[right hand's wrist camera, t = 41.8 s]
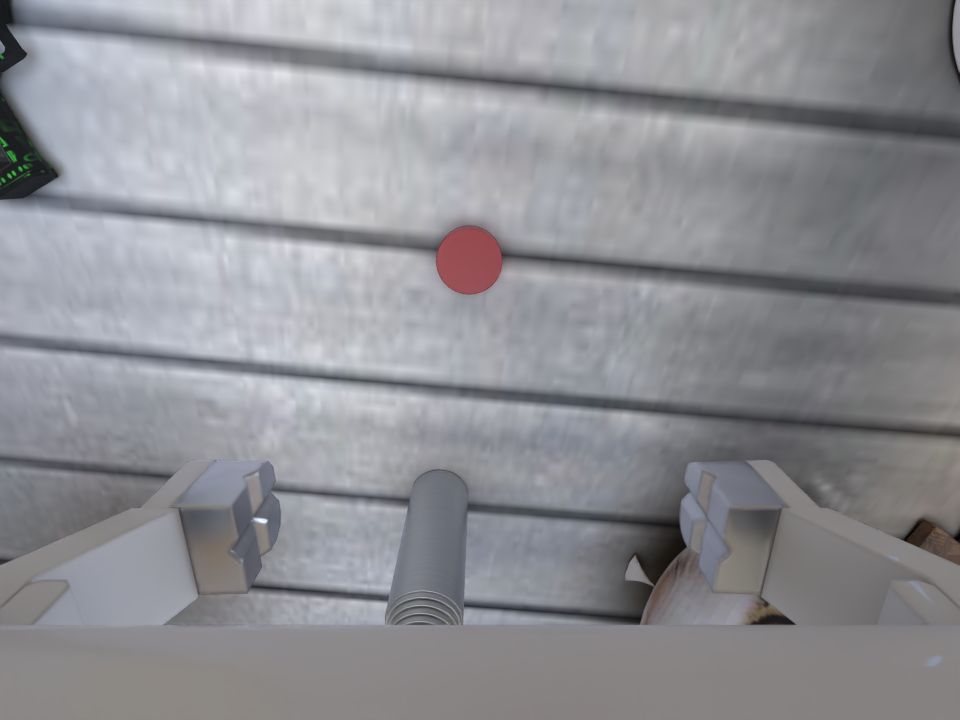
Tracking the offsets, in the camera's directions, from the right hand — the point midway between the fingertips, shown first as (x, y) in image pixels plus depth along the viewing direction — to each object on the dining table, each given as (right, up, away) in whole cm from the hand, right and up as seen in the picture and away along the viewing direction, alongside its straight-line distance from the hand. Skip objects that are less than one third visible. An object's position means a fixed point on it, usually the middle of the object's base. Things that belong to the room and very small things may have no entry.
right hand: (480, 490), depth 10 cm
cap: (-1, +9, +25) cm, 27 cm away
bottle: (-3, -9, +33) cm, 34 cm away
